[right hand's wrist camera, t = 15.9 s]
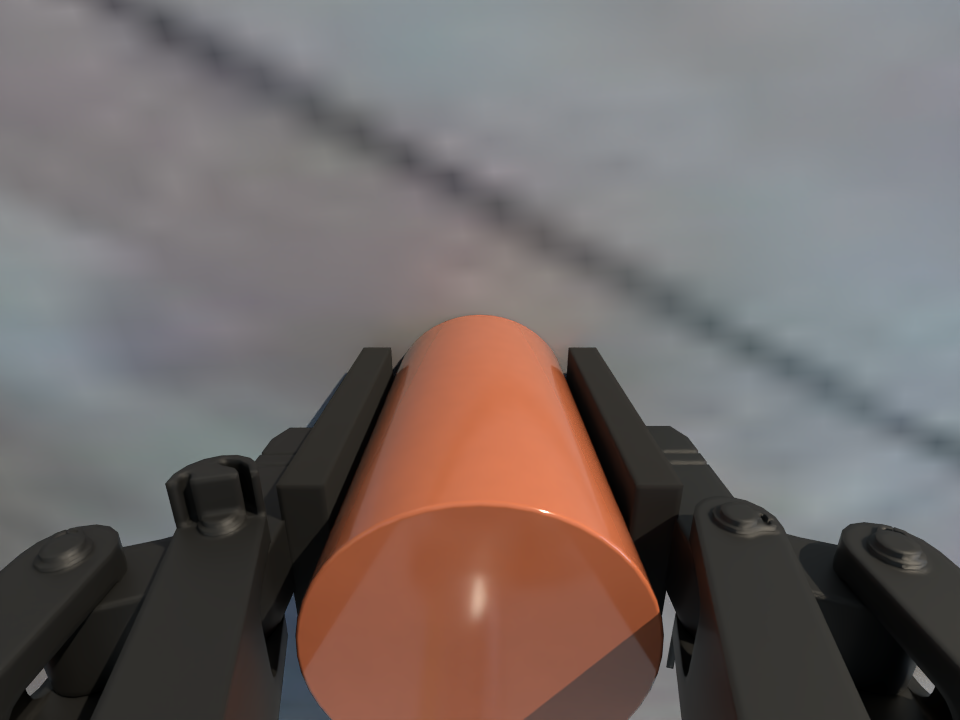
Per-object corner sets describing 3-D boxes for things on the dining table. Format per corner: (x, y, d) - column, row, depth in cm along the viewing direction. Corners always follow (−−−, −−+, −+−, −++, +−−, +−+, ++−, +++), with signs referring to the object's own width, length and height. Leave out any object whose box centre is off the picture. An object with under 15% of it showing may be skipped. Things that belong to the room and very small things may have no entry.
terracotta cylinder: (560, 470, 16) (643, 777, 8) (399, 470, 16) (316, 777, 8) (570, 314, 14) (690, 503, 6) (389, 314, 14) (269, 502, 6)
